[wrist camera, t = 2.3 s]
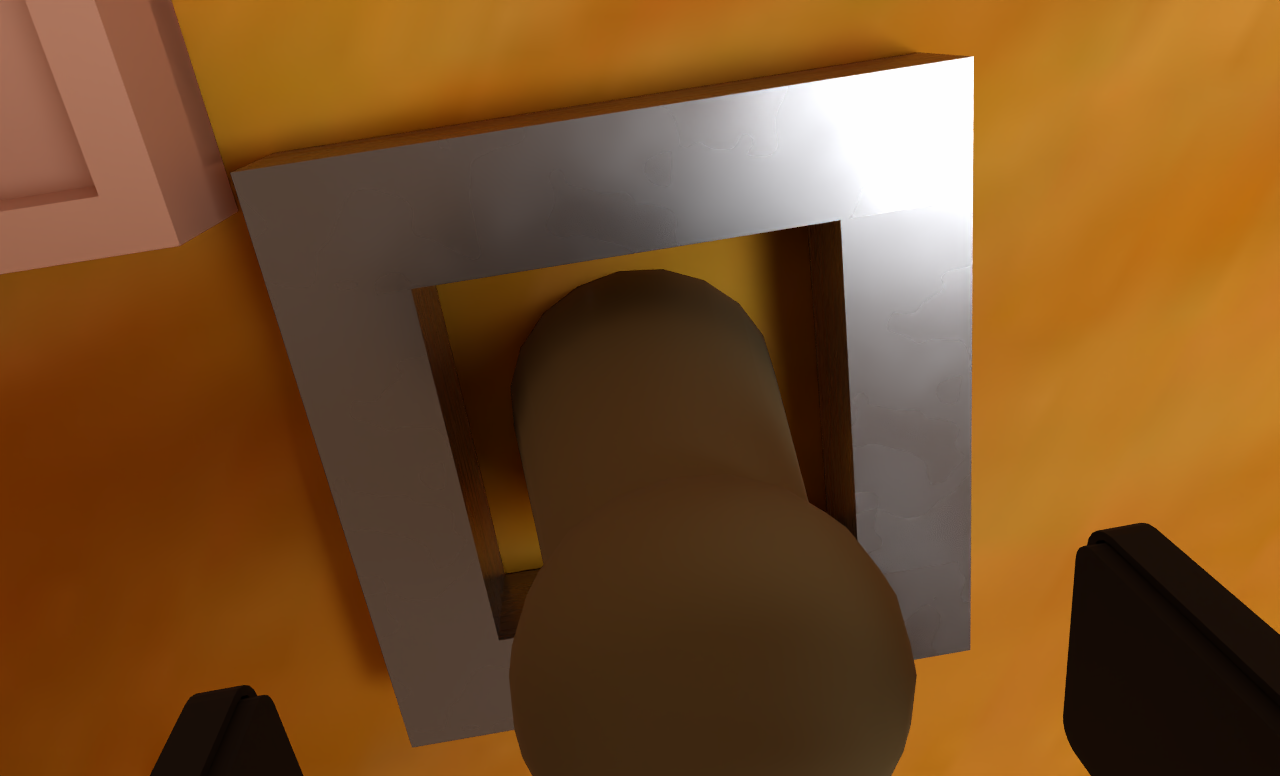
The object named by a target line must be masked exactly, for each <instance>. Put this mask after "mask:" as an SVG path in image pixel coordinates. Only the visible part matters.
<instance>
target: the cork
mask: <svg viewBox="0 0 1280 776" xmlns="http://www.w3.org/2000/svg"><path fill="white" fill-rule="evenodd" d="M511 397H512V409H513V420H514V428H515V433H516V437H517V442H518V447H519V451H520V456H521V461H522V465H523V470H524V475H525V479H526V484H527V489H528V493H529V498H530V503H531V507H532V512H533V517H534V521H535V526H536V531H537V535H538V540H539V545H540V549H541V554H542V559H543V564H544V565H543V567H542V568H541V569H540V571H539V572H538V574H537V576H536V578H535V580H534V582H533V584H532V586H531V588H530V590H529V592H528V594H527V596H526V599H525V603H524V606H523V609H522V613H521V616H520V619H519V623H518V626H517V630H516V633H515V636H514V640H513V643H512V648H511V659H510V669H509V683H510V693H511V703H512V713H513V723H514V729H515V733H516V736H517V740H518V743H519V747H520V750H521V754H522V757H523V759H524V761H525V763H526V765H527V767H528V768H529V770H530V772H531V774H532V776H891V775H892V773H893V771H894V769H895V767H896V765H897V763H898V761H899V759H900V757H901V755H902V753H903V751H904V747H905V744H906V740H907V736H908V733H909V729H910V725H911V718H912V710H913V701H914V693H915V684H916V676H917V675H916V670H915V665H914V659H913V654H912V649H911V644H910V641H909V637H908V634H907V630H906V627H905V623H904V620H903V616H902V613H901V609H900V606H899V602H898V599H897V595H896V594H895V592H894V591H893V589H892V587H891V586H890V584H889V583H888V581H887V580H886V578H885V576H884V575H883V573H882V572H881V570H880V569H879V567H878V566H877V565H876V564H875V562H874V561H873V560H872V559H871V557H870V556H869V555H868V554H867V552H866V551H865V550H864V548H863V547H862V546H861V545H860V543H859V542H858V541H857V540H856V538H855V537H854V536H853V535H852V533H851V532H850V531H849V530H848V529H847V528H846V527H845V526H843V525H842V524H841V523H839V522H838V521H837V520H835V519H834V518H833V517H831V516H830V515H828V514H827V513H826V512H824V511H822V510H821V509H819V508H817V507H816V506H814V505H812V504H811V503H809V502H808V498H807V494H806V490H805V486H804V482H803V479H802V475H801V471H800V467H799V463H798V460H797V456H796V452H795V448H794V444H793V441H792V437H791V433H790V429H789V425H788V422H787V418H786V414H785V410H784V406H783V402H782V399H781V395H780V391H779V387H778V383H777V380H776V376H775V372H774V369H773V366H772V362H771V359H770V356H769V353H768V350H767V347H766V343H765V340H764V337H763V335H762V333H761V332H760V331H759V329H758V328H757V327H756V325H755V324H754V323H753V321H752V320H751V319H750V317H749V316H748V315H747V313H746V312H745V311H744V310H743V308H742V307H741V306H740V304H739V303H737V302H736V301H734V300H733V299H731V298H730V297H728V296H727V295H725V294H724V293H722V292H721V291H719V290H718V289H716V288H715V287H713V286H712V285H710V284H709V283H707V282H706V281H704V280H700V279H697V278H693V277H689V276H685V275H682V274H678V273H674V272H671V271H667V270H641V271H620V272H617V273H614V274H611V275H608V276H606V277H603V278H600V279H598V280H595V281H592V282H589V283H587V284H584V285H581V286H579V287H577V288H576V289H574V290H573V291H572V292H571V293H569V294H568V295H567V296H565V297H564V298H563V299H562V300H560V301H559V302H558V303H556V304H555V305H554V306H553V307H551V308H550V309H549V310H547V311H546V312H545V313H544V314H543V315H542V317H541V318H540V320H539V321H538V323H537V324H536V326H535V327H534V329H533V330H532V332H531V333H530V335H529V336H528V338H527V339H526V341H525V342H524V344H523V345H522V347H521V349H520V353H519V356H518V360H517V364H516V368H515V372H514V376H513V379H512V383H511Z"/></svg>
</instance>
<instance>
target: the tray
mask: <svg viewBox="0 0 1280 776" xmlns="http://www.w3.org/2000/svg"><path fill="white" fill-rule="evenodd" d="M236 212H238V209H237V206H236V202H235V199H234V196H233V193H232V190H231V187H230V184H229V180H228V177H227V174H226V171H225V168H224V165H223V162H222V158H221V155H220V152H219V149H218V146H217V143H216V140H215V136H214V133H213V130H212V127H211V124H210V121H209V118H208V114H207V111H206V108H205V105H204V102H203V99H202V96H201V92H200V89H199V86H198V83H197V80H196V77H195V74H194V70H193V67H192V64H191V61H190V58H189V55H188V52H187V48H186V45H185V42H184V39H183V36H182V33H181V30H180V26H179V23H178V20H177V17H176V14H175V11H174V8H173V4H172V1H171V0H0V274H5V273H11V272H17V271H24V270H30V269H36V268H43V267H49V266H55V265H62V264H68V263H74V262H81V261H87V260H93V259H100V258H106V257H112V256H119V255H125V254H131V253H138V252H144V251H150V250H157V249H163V248H169V247H175V246H181V245H182V244H184V243H186V242H187V241H189V240H191V239H192V238H194V237H196V236H198V235H199V234H201V233H203V232H204V231H206V230H208V229H209V228H211V227H213V226H214V225H216V224H218V223H220V222H221V221H223V220H225V219H226V218H228V217H230V216H231V215H233V214H235V213H236Z"/></svg>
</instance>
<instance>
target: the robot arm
mask: <svg viewBox="0 0 1280 776" xmlns="http://www.w3.org/2000/svg"><path fill="white" fill-rule="evenodd" d="M1063 724H1064V729H1065V733H1066V736H1067V739H1068V741H1069V743H1070V746H1071V747H1072V749H1073V751H1074V752H1075V754H1076V755H1077V757H1078V758H1079V760H1080V761H1081V762H1082V764H1083V765H1084V767H1085V768H1086V769H1087V771H1088V772H1089V774H1090V775H1091V776H1280V635H1279V634H1278V633H1277V632H1276V631H1275V630H1274V629H1272V628H1271V627H1270V626H1269V625H1268V624H1267V623H1265V622H1264V621H1263V620H1262V619H1261V618H1260V617H1258V616H1257V615H1256V614H1255V613H1254V612H1253V611H1251V610H1250V609H1249V608H1248V607H1247V606H1246V605H1244V604H1243V603H1242V602H1241V601H1240V600H1239V599H1237V598H1236V597H1235V596H1234V595H1233V594H1232V593H1230V592H1229V591H1228V590H1227V589H1226V588H1225V587H1223V586H1222V585H1221V584H1220V583H1219V582H1218V581H1216V580H1215V579H1214V578H1213V577H1212V576H1211V575H1209V574H1208V573H1207V572H1206V571H1205V570H1204V569H1202V568H1201V567H1200V566H1199V565H1198V564H1197V563H1196V562H1194V561H1193V560H1192V559H1191V558H1190V557H1189V556H1187V555H1186V554H1185V553H1184V552H1183V551H1182V550H1180V549H1179V548H1178V547H1177V546H1176V545H1175V544H1173V543H1172V542H1171V541H1170V540H1169V539H1168V538H1166V537H1165V536H1164V535H1163V534H1162V533H1161V532H1159V531H1158V530H1157V529H1156V528H1154V527H1153V526H1151V525H1150V524H1146V523H1137V524H1132V525H1126V526H1121V527H1115V528H1110V529H1104V530H1099V531H1096V532H1093V533H1092V534H1091V536H1090V537H1089V539H1088V544H1087V546H1083V547H1081V548H1079V550H1078V551H1077V554H1076V561H1075V574H1074V586H1073V599H1072V611H1071V624H1070V637H1069V649H1068V662H1067V674H1066V687H1065V700H1064V712H1063ZM150 776H303V774H302V771H301V769H300V766H299V764H298V761H297V759H296V757H295V754H294V752H293V749H292V747H291V744H290V742H289V739H288V737H287V734H286V732H285V729H284V727H283V725H282V722H281V720H280V717H279V715H278V712H277V710H276V707H275V705H274V703H273V701H272V699H271V698H270V697H269V696H268V695H261V696H257V694H256V693H255V691H254V689H252V688H251V687H250V686H248V685H242V686H236V687H231V688H225V689H220V690H214V691H209V692H203V693H198V694H195V695H193V696H192V697H190V698H189V700H188V701H187V703H186V704H185V706H184V708H183V710H182V712H181V714H180V716H179V718H178V720H177V722H176V724H175V726H174V728H173V730H172V732H171V734H170V736H169V738H168V740H167V742H166V744H165V746H164V748H163V750H162V752H161V754H160V756H159V758H158V760H157V762H156V764H155V766H154V768H153V770H152V772H151V774H150Z"/></svg>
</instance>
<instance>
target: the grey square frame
mask: <svg viewBox="0 0 1280 776" xmlns="http://www.w3.org/2000/svg"><path fill="white" fill-rule="evenodd" d="M231 177H232V180H233V183H234V186H235V189H236V192H237V196H238V199H239V202H240V205H241V208H242V211H243V215H244V218H245V221H246V224H247V227H248V230H249V234H250V237H251V240H252V243H253V246H254V249H255V252H256V256H257V259H258V262H259V265H260V268H261V271H262V275H263V278H264V281H265V284H266V287H267V290H268V294H269V297H270V300H271V303H272V306H273V309H274V313H275V316H276V319H277V322H278V325H279V328H280V331H281V335H282V338H283V341H284V344H285V347H286V350H287V354H288V357H289V360H290V363H291V366H292V369H293V373H294V376H295V379H296V382H297V385H298V388H299V392H300V395H301V398H302V401H303V404H304V407H305V410H306V414H307V417H308V420H309V423H310V426H311V429H312V433H313V436H314V439H315V442H316V445H317V448H318V452H319V455H320V458H321V461H322V464H323V467H324V471H325V474H326V477H327V480H328V483H329V486H330V489H331V493H332V496H333V499H334V502H335V505H336V508H337V512H338V515H339V518H340V521H341V524H342V527H343V531H344V534H345V537H346V540H347V543H348V546H349V550H350V553H351V556H352V559H353V562H354V565H355V568H356V572H357V575H358V578H359V581H360V584H361V587H362V591H363V594H364V597H365V600H366V603H367V606H368V610H369V613H370V616H371V619H372V622H373V625H374V629H375V632H376V635H377V638H378V641H379V644H380V647H381V651H382V654H383V657H384V660H385V663H386V666H387V670H388V673H389V676H390V679H391V682H392V685H393V689H394V692H395V695H396V698H397V701H398V704H399V708H400V711H401V714H402V717H403V720H404V723H405V726H406V730H407V733H408V736H409V739H410V742H411V745H412V747H418V746H424V745H429V744H435V743H441V742H446V741H452V740H458V739H464V738H469V737H475V736H481V735H486V734H492V733H498V732H504V731H509V730H515V729H514V723H513V713H512V703H511V693H510V683H509V669H510V659H511V648H512V643H513V640H514V636H515V633H516V630H517V626H518V623H519V619H520V616H521V613H522V609H523V606H524V603H525V599H526V596H527V594H528V592H529V590H530V588H531V586H532V584H533V582H534V580H535V578H536V576H537V574H538V572H539V571H540V569H536V570H531V571H525V572H519V573H513V574H507V575H505V573H504V569H503V564H502V560H501V556H500V552H499V548H498V544H497V539H496V535H495V531H494V527H493V523H492V518H491V514H490V510H489V506H488V502H487V498H486V493H485V489H484V485H483V481H482V477H481V472H480V468H479V464H478V460H477V456H476V452H475V447H474V443H473V439H472V435H471V431H470V426H469V422H468V418H467V414H466V410H465V406H464V401H463V397H462V393H461V389H460V385H459V380H458V376H457V372H456V368H455V364H454V359H453V355H452V351H451V347H450V343H449V339H448V334H447V330H446V326H445V322H444V318H443V313H442V309H441V305H440V301H439V297H438V293H437V288H436V285H440V284H446V283H452V282H458V281H465V280H471V279H477V278H483V277H490V276H496V275H502V274H508V273H514V272H521V271H527V270H533V269H539V268H546V267H552V266H558V265H564V264H570V263H577V262H583V261H589V260H595V259H602V258H608V257H614V256H620V255H626V254H633V253H639V252H645V251H651V250H658V249H664V248H670V247H676V246H682V245H689V244H695V243H701V242H707V241H714V240H720V239H726V238H732V237H738V236H745V235H751V234H757V233H763V232H770V231H776V230H782V229H788V228H794V227H801V226H807V225H808V240H809V255H810V270H811V284H812V299H813V314H814V329H815V343H816V358H817V373H818V388H819V403H820V417H821V432H822V447H823V462H824V476H825V491H826V506H827V514H828V515H830V516H831V517H833V518H834V519H835V520H837V521H838V522H839V523H841V524H842V525H843V526H845V527H846V528H847V529H848V530H849V531H850V532H851V533H852V535H853V536H854V537H855V538H856V540H857V541H858V542H859V543H860V545H861V546H862V547H863V548H864V550H865V551H866V552H867V554H868V555H869V556H870V557H871V559H872V560H873V561H874V562H875V564H876V565H877V566H878V567H879V569H880V570H881V572H882V573H883V575H884V576H885V578H886V580H887V581H888V583H889V584H890V586H891V587H892V589H893V591H894V592H895V594H896V595H897V599H898V602H899V606H900V609H901V613H902V616H903V620H904V623H905V627H906V630H907V634H908V637H909V641H910V644H911V649H912V654H913V659H914V660H915V659H921V658H926V657H932V656H938V655H943V654H949V653H955V652H961V651H966V650H970V587H971V407H972V226H973V57H971V56H958V55H945V54H932V53H913V54H906V55H900V56H894V57H887V58H881V59H874V60H868V61H862V62H855V63H849V64H842V65H836V66H829V67H823V68H817V69H810V70H804V71H797V72H791V73H784V74H778V75H772V76H765V77H759V78H752V79H746V80H740V81H733V82H727V83H720V84H714V85H707V86H701V87H695V88H688V89H682V90H675V91H669V92H662V93H656V94H650V95H643V96H637V97H630V98H624V99H618V100H611V101H605V102H598V103H592V104H585V105H579V106H573V107H566V108H560V109H553V110H547V111H540V112H534V113H528V114H521V115H515V116H508V117H502V118H496V119H489V120H483V121H476V122H470V123H463V124H457V125H451V126H444V127H438V128H431V129H425V130H418V131H412V132H406V133H399V134H393V135H386V136H380V137H374V138H367V139H361V140H354V141H348V142H341V143H335V144H329V145H322V146H316V147H309V148H303V149H296V150H290V151H284V152H277V153H272V154H270V155H268V156H266V157H264V158H261V159H259V160H257V161H255V162H253V163H250V164H248V165H246V166H244V167H242V168H240V169H237V170H235V171H233V172H231Z"/></svg>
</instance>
